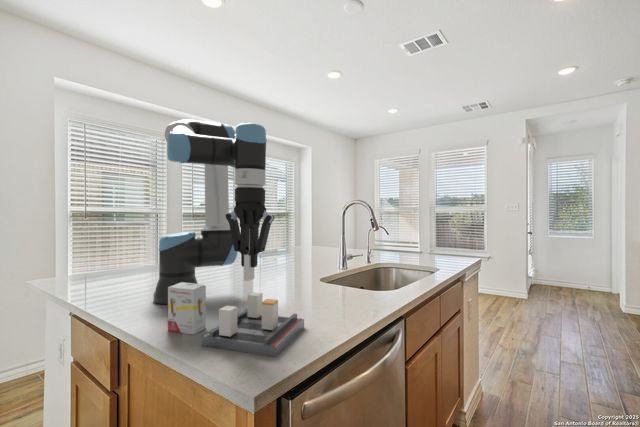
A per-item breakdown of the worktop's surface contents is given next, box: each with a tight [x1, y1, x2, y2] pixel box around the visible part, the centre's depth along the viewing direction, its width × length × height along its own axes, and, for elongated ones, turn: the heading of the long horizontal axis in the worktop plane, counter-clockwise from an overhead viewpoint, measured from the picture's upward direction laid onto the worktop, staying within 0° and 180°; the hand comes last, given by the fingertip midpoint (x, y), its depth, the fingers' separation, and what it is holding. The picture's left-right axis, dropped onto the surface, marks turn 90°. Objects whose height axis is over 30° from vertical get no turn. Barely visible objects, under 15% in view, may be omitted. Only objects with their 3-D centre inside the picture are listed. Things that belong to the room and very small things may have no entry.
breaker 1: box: [218, 305, 238, 337], centre depth 75 cm, size 3×3×6 cm
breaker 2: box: [246, 291, 264, 318], centre depth 87 cm, size 3×3×6 cm
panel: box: [201, 309, 305, 358], centre depth 80 cm, size 19×18×4 cm
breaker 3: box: [262, 298, 279, 330], centre depth 79 cm, size 3×3×7 cm
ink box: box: [167, 282, 207, 335], centre depth 84 cm, size 9×5×12 cm, turn 72°
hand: (249, 279), depth 81 cm, fingers closed
